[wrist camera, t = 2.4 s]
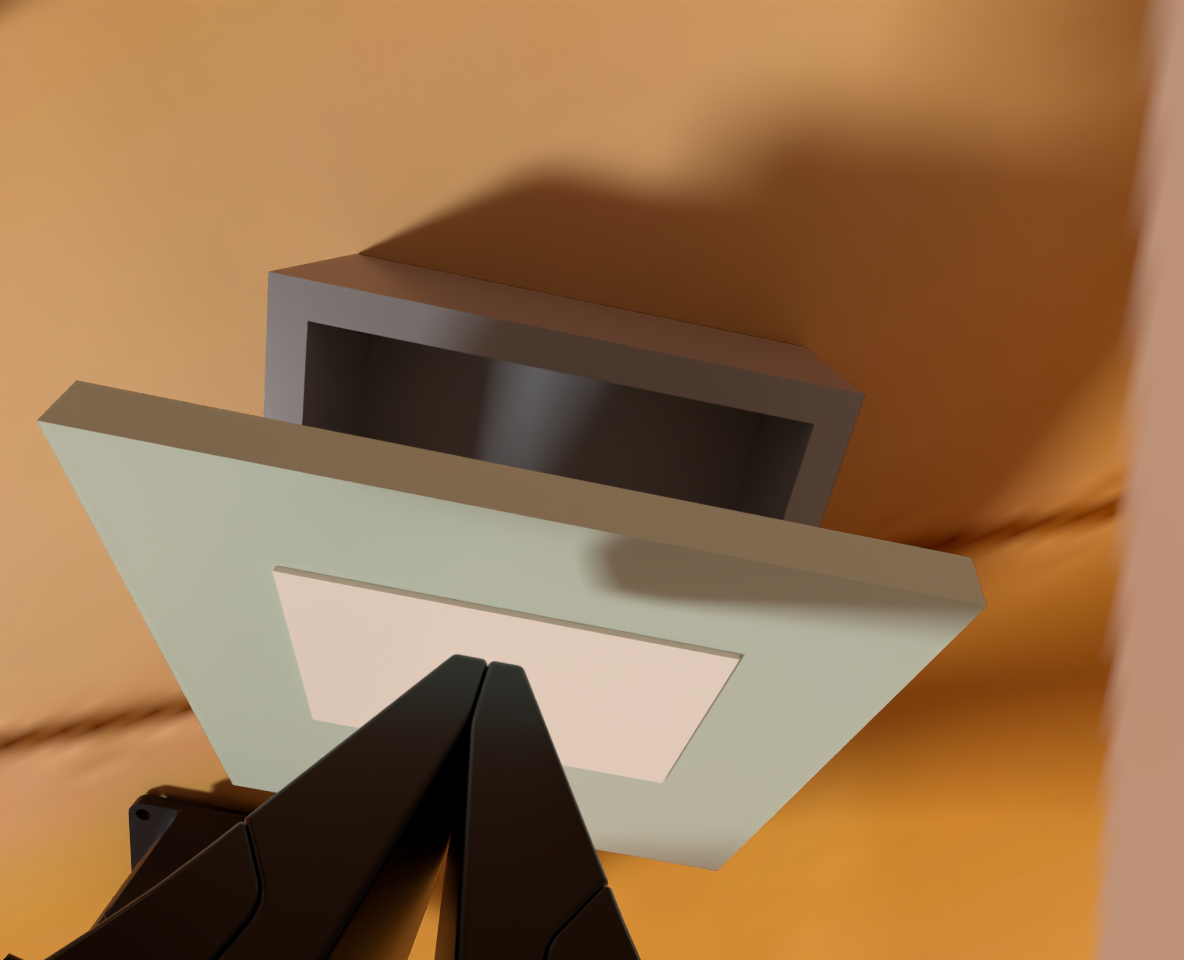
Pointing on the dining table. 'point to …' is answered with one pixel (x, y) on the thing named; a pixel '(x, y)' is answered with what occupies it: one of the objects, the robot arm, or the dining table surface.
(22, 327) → the dining table surface
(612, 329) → the storage box
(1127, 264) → the dining table surface
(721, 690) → the lid
